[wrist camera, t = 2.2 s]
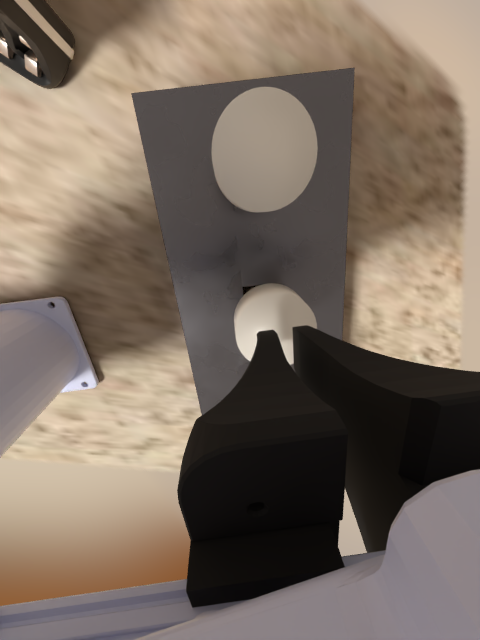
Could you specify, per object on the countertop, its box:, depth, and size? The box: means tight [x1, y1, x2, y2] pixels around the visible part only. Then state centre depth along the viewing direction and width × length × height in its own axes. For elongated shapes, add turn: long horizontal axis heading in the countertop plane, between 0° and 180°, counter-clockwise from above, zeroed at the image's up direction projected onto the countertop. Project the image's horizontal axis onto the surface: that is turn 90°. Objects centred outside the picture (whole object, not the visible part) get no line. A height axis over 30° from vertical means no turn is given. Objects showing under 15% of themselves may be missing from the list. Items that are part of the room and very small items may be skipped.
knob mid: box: [234, 283, 317, 365], centre depth 15 cm, size 4×4×5 cm
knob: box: [211, 87, 318, 213], centre depth 12 cm, size 4×4×5 cm
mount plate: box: [131, 68, 354, 415], centre depth 18 cm, size 11×23×3 cm, turn 7°
